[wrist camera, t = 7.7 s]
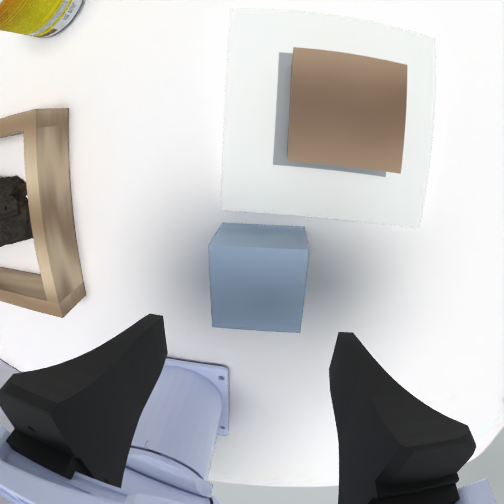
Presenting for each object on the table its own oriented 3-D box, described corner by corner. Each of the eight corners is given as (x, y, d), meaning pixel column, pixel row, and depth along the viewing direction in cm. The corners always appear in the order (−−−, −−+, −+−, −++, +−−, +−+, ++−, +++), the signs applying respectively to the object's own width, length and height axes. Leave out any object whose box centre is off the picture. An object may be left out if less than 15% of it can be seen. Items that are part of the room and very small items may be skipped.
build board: (413, 223, 18) (419, 229, 17) (223, 206, 19) (220, 210, 18) (428, 42, 14) (435, 38, 13) (232, 14, 14) (230, 8, 13)
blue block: (297, 297, 21) (300, 332, 17) (224, 293, 21) (212, 326, 18) (304, 226, 19) (308, 250, 15) (222, 222, 20) (208, 244, 16)
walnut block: (375, 163, 16) (400, 173, 12) (286, 154, 16) (288, 161, 13) (381, 77, 14) (407, 64, 10) (291, 65, 15) (293, 47, 11)
